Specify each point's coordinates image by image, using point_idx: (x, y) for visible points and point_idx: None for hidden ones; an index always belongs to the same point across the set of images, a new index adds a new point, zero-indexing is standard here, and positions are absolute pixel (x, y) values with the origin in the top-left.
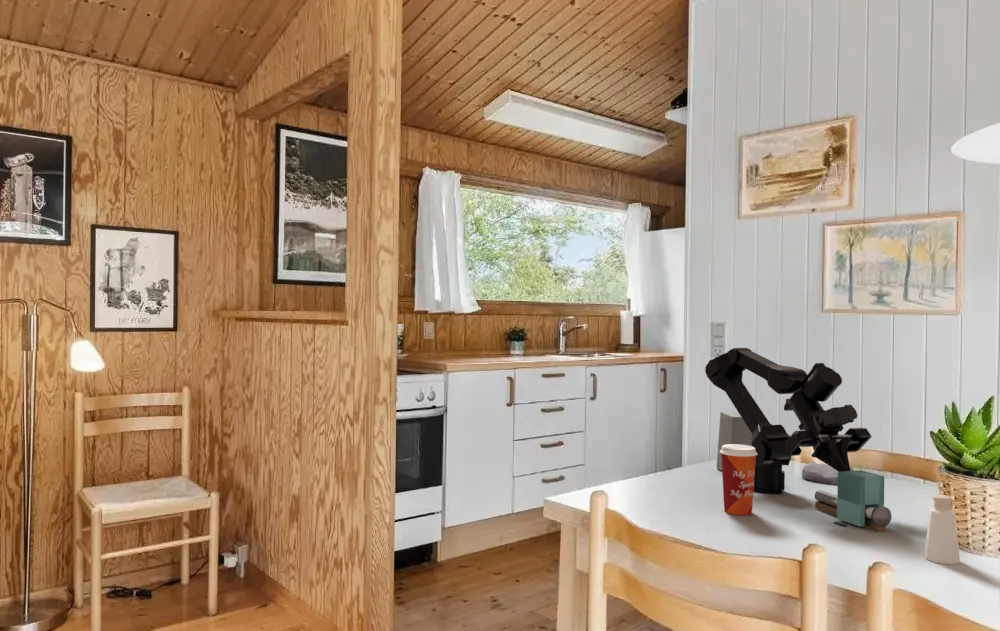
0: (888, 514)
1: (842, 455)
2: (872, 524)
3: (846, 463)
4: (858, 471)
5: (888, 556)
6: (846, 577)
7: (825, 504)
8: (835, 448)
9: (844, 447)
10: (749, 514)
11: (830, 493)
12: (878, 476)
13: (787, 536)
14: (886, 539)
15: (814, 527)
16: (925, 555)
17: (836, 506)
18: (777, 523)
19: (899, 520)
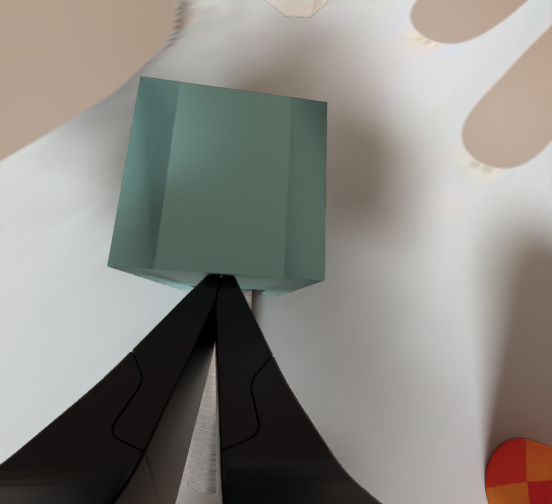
0: None
1: (176, 391)
2: None
3: (197, 318)
4: (169, 240)
5: (384, 47)
6: (533, 17)
7: None
8: (255, 483)
9: (31, 495)
10: (507, 441)
11: (212, 413)
12: (176, 90)
13: (508, 225)
14: None
15: (395, 262)
16: (318, 7)
17: None
18: (471, 329)
19: (78, 226)
